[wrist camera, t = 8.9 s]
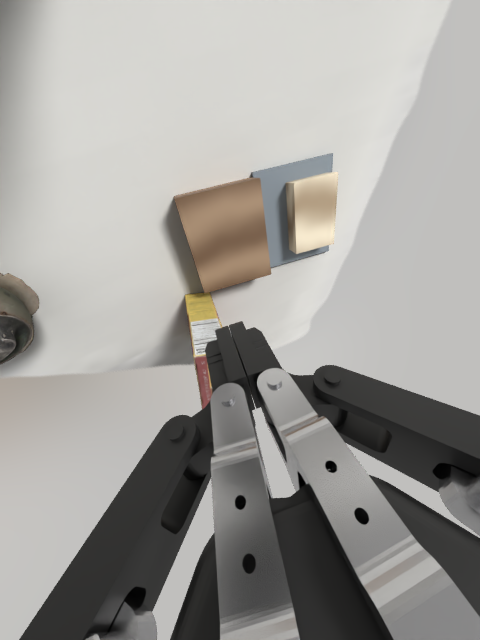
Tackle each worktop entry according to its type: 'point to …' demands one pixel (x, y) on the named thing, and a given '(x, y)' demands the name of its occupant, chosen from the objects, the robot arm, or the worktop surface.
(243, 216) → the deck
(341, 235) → the worktop surface
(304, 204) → the tile
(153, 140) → the worktop surface
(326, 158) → the mat
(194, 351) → the candy box
